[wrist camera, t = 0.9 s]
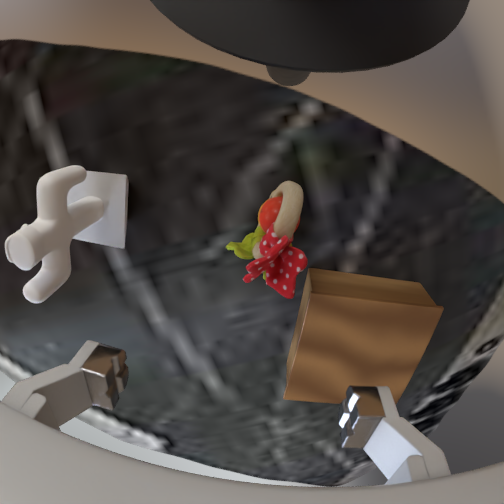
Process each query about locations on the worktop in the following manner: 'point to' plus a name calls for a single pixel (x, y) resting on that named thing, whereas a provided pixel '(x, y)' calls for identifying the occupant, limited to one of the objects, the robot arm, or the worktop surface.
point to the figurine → (68, 224)
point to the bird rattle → (275, 241)
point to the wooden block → (357, 335)
